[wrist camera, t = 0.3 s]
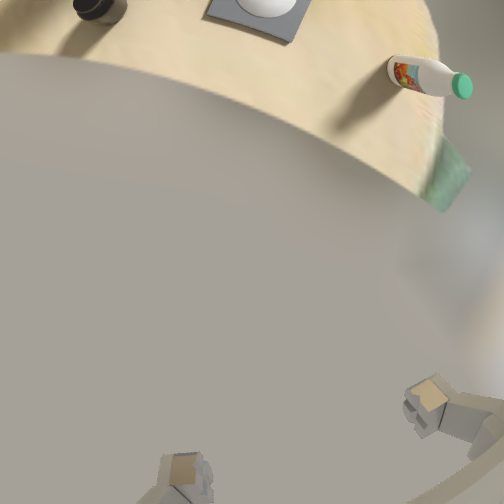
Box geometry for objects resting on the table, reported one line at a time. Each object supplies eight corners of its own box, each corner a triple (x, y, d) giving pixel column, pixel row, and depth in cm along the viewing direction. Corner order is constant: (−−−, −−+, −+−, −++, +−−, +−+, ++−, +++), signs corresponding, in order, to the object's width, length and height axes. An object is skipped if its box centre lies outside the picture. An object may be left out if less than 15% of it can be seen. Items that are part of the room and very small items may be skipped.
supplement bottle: (134, -4, 31) (116, -19, 21) (119, 28, 34) (97, 20, 25) (102, -8, 28) (78, -21, 19) (87, 23, 32) (60, 17, 22)
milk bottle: (389, 49, 43) (456, 58, 27) (415, 61, 44) (481, 76, 29) (383, 80, 47) (447, 99, 32) (409, 90, 49) (473, 114, 33)
